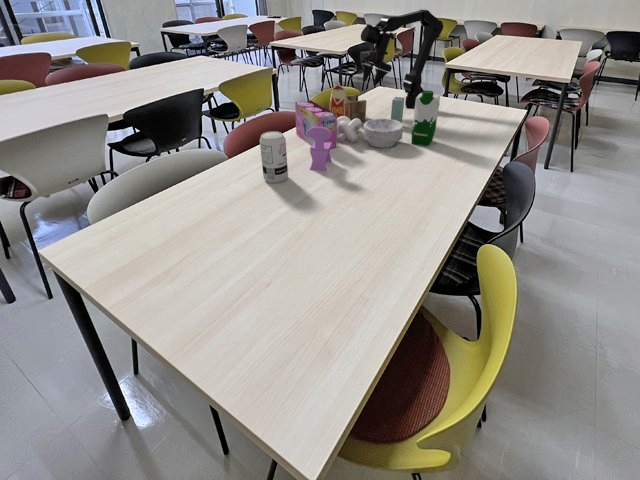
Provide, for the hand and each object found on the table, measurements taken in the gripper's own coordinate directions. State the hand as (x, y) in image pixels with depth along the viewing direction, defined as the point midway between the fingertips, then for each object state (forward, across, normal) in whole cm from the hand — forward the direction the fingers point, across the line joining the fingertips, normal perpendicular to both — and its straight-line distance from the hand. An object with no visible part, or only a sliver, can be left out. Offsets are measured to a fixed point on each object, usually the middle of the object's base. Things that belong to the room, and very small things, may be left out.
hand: (369, 83), depth 181 cm
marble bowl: (+18, +37, -10) cm, 42 cm away
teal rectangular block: (+13, +22, +6) cm, 26 cm away
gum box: (+26, +22, -31) cm, 46 cm away
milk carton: (+21, +12, -16) cm, 29 cm away
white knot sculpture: (+22, +26, -20) cm, 40 cm away
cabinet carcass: (+17, +4, -6) cm, 18 cm away
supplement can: (+34, +48, -56) cm, 81 cm away
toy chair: (+28, +45, -39) cm, 66 cm away
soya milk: (+14, +42, +5) cm, 45 cm away
